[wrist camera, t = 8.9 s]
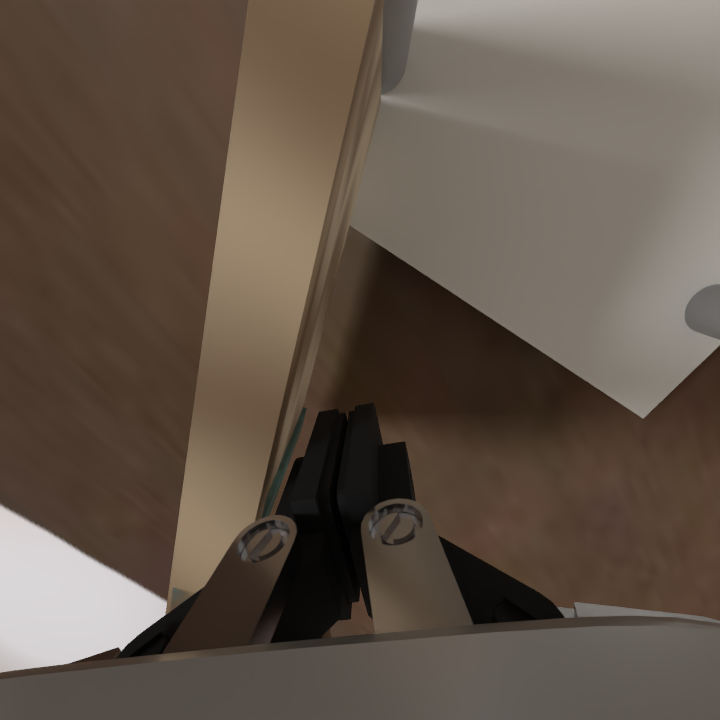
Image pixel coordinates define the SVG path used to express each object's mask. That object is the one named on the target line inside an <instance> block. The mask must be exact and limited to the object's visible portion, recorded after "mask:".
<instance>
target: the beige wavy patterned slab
mask: <svg viewBox="0 0 720 720" xmlns="http://www.w3.org/2000/svg"><path fill="white" fill-rule="evenodd" d="M384 1H385V0H249V1H248V8H247V16H246V23H245V30H244V38H243V45H242V53H241V60H240V68H239V75H238V82H237V90H236V97H235V105H234V112H233V119H232V127H231V134H230V142H229V149H228V156H227V164H226V171H225V179H224V186H223V193H222V201H221V208H220V216H219V223H218V230H217V238H216V245H215V253H214V260H213V268H212V275H211V282H210V290H209V297H208V305H207V312H206V319H205V327H204V334H203V342H202V349H201V356H200V364H199V371H198V379H197V386H196V393H195V401H194V408H193V416H192V423H191V430H190V438H189V445H188V453H187V460H186V467H185V475H184V482H183V490H182V497H181V505H180V512H179V519H178V527H177V534H176V542H175V549H174V556H173V564H172V571H171V579H170V586H169V593H168V601H167V608H166V614H168V613H169V612H170V611H172V610H173V609H174V608H176V607H177V606H179V605H180V604H181V603H183V602H184V601H185V600H187V599H188V598H189V597H191V596H192V595H193V594H195V593H196V592H198V591H199V590H200V589H202V588H203V587H204V586H205V585H206V583H207V582H208V580H209V579H210V577H211V576H212V574H213V572H214V571H215V569H216V568H217V566H218V564H219V563H220V561H221V560H222V558H223V557H224V555H225V553H226V552H227V550H228V549H229V547H230V546H231V544H232V542H233V541H234V539H235V538H236V537H237V536H238V534H239V533H240V532H241V531H242V530H243V529H245V528H246V527H247V526H248V525H250V524H251V523H253V522H255V521H257V520H259V519H262V518H264V517H267V516H269V515H270V512H271V510H272V507H273V504H274V502H275V499H276V496H277V493H278V491H279V488H280V485H281V483H282V480H283V477H284V475H285V472H286V469H287V467H288V464H289V461H290V458H291V456H292V453H293V450H294V448H295V445H296V442H297V440H298V437H299V434H300V431H301V428H302V425H303V421H304V417H305V413H306V409H307V408H304V407H303V406H304V402H305V398H306V394H307V390H308V386H309V382H310V379H311V375H312V371H313V367H314V363H315V359H316V355H317V351H318V347H319V343H320V339H321V335H322V331H323V327H324V324H325V320H326V316H327V312H328V308H329V304H330V300H331V296H332V292H333V288H334V284H335V280H336V276H337V273H338V269H339V265H340V261H341V257H342V253H343V249H344V245H345V241H346V237H347V233H348V229H349V225H350V221H351V218H352V214H353V210H354V206H355V202H356V198H357V194H358V190H359V186H360V182H361V178H362V174H363V170H364V167H365V163H366V159H367V155H368V151H369V147H370V143H371V139H372V135H373V131H374V127H375V123H376V119H377V115H378V112H379V108H380V104H381V74H382V36H383V5H384Z"/></svg>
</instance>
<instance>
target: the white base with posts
mask: <svg viewBox="0 0 720 720" xmlns="http://www.w3.org/2000/svg"><path fill="white" fill-rule="evenodd" d="M350 226H351V227H353V228H355V229H356V230H358V231H359V232H361V233H362V234H364V235H365V236H367V237H368V238H370V239H371V240H373V241H374V242H376V243H377V244H379V245H380V246H382V247H383V248H385V249H386V250H388V251H389V252H391V253H392V254H394V255H395V256H397V257H399V258H400V259H402V260H403V261H405V262H406V263H408V264H409V265H411V266H412V267H414V268H415V269H417V270H418V271H420V272H421V273H423V274H424V275H426V276H427V277H429V278H430V279H432V280H433V281H435V282H436V283H438V284H440V285H441V286H443V287H444V288H446V289H447V290H449V291H450V292H452V293H453V294H455V295H456V296H458V297H459V298H461V299H462V300H464V301H465V302H467V303H468V304H470V305H471V306H473V307H474V308H476V309H477V310H479V311H480V312H482V313H484V314H485V315H487V316H488V317H490V318H491V319H493V320H494V321H496V322H497V323H499V324H500V325H502V326H503V327H505V328H506V329H508V330H509V331H511V332H512V333H514V334H515V335H517V336H518V337H520V338H521V339H523V340H525V341H526V342H528V343H529V344H531V345H532V346H534V347H535V348H537V349H538V350H540V351H541V352H543V353H544V354H546V355H547V356H549V357H550V358H552V359H553V360H555V361H556V362H558V363H559V364H561V365H562V366H564V367H566V368H567V369H569V370H570V371H572V372H573V373H575V374H576V375H578V376H579V377H581V378H582V379H584V380H585V381H587V382H588V383H590V384H591V385H593V386H594V387H596V388H597V389H599V390H600V391H602V392H603V393H605V394H606V395H608V396H610V397H611V398H613V399H614V400H616V401H617V402H619V403H620V404H622V405H623V406H625V407H626V408H628V409H629V410H631V411H632V412H634V413H635V414H637V415H638V416H640V417H641V418H644V417H645V416H646V415H648V414H649V413H650V412H651V411H652V410H653V409H654V408H655V407H656V406H657V405H658V404H659V403H660V402H661V401H662V400H663V399H664V398H665V397H666V396H667V395H668V394H669V393H670V392H672V391H673V390H674V389H675V388H676V387H677V386H678V385H679V384H680V383H681V382H682V381H683V380H684V379H685V378H686V377H687V376H688V375H689V374H690V373H691V372H692V371H693V370H694V369H695V368H697V367H698V366H699V365H700V364H701V363H702V362H703V361H704V360H705V359H706V358H707V357H708V356H709V355H710V354H711V353H712V352H713V351H714V350H715V349H716V348H717V347H718V346H719V345H720V0H385V1H384V5H383V36H382V74H381V104H380V108H379V112H378V115H377V119H376V123H375V127H374V131H373V135H372V139H371V143H370V147H369V151H368V155H367V159H366V163H365V167H364V170H363V174H362V178H361V182H360V186H359V190H358V194H357V198H356V202H355V206H354V210H353V214H352V218H351V221H350Z"/></svg>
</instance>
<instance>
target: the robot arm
mask: <svg viewBox="0 0 720 720" xmlns="http://www.w3.org/2000/svg"><path fill="white" fill-rule="evenodd" d="M360 588H361V591H362V595H363V598H364V602H365V605H366V609H367V613H368V615H369V616H370V617H371V618H372V619H373V623H374V630H375V634H365V635H354V636H343V637H332V638H331V633H330V628H331V627H332V626H333V625H334V624H335V623H336V622H337V621H338V620H347V619H351V608H352V602H358V601H359V597H360ZM0 720H720V621H719V620H715V619H711V618H707V617H702V616H693V615H685V614H676V613H667V612H658V611H649V610H640V609H631V608H622V607H614V606H605V605H596V604H587V603H578V602H574V609H569V608H560V607H556V606H555V605H554V603H553V602H551V601H550V600H549V599H547V598H546V597H545V596H543V595H542V594H540V593H539V592H537V591H535V590H534V589H532V588H530V587H528V586H526V585H525V584H523V583H521V582H519V581H518V580H516V579H514V578H512V577H511V576H509V575H507V574H505V573H504V572H502V571H500V570H498V569H496V568H495V567H493V566H491V565H489V564H488V563H486V562H484V561H482V560H481V559H479V558H477V557H475V556H474V555H472V554H470V553H468V552H466V551H465V550H463V549H461V548H459V547H458V546H456V545H454V544H452V543H451V542H449V541H447V540H445V539H444V538H442V537H440V536H438V535H437V532H436V530H435V527H434V525H433V522H432V520H431V517H430V515H429V513H428V512H427V510H426V508H425V507H423V506H422V505H421V504H419V503H418V502H416V500H415V493H414V486H413V480H412V474H411V469H410V463H409V458H408V453H407V448H406V443H405V442H398V443H392V444H385V445H383V442H382V438H381V433H380V428H379V424H378V419H377V414H376V410H375V406H374V403H370V404H364V405H358V406H355V411H351V412H349V416H348V421H347V417H346V414H345V413H339V411H338V409H334V410H328V411H322V412H319V413H318V416H317V419H316V423H315V426H314V429H313V432H312V435H311V438H310V441H309V444H308V447H307V450H306V453H305V456H304V457H300V458H297V459H296V460H295V462H294V464H293V467H292V470H291V472H290V475H289V478H288V481H287V483H286V486H285V489H284V492H283V494H282V497H281V500H280V503H279V505H278V508H277V511H276V514H275V515H273V516H267V517H264V518H262V519H259V520H257V521H255V522H253V523H251V524H250V525H248V526H247V527H246V528H245V529H243V530H242V531H241V532H240V533H239V534H238V536H237V537H236V538H235V539H234V541H233V542H232V544H231V546H230V547H229V549H228V550H227V552H226V553H225V555H224V557H223V558H222V560H221V561H220V563H219V564H218V566H217V568H216V569H215V571H214V572H213V574H212V576H211V577H210V579H209V580H208V582H207V583H206V585H205V586H204V587H203V588H202V589H200V590H199V591H198V592H196V593H195V594H193V595H192V596H191V597H189V598H188V599H187V600H185V601H184V602H183V603H181V604H180V605H179V606H177V607H176V608H174V609H173V610H172V611H170V612H169V613H168V614H166V615H165V616H164V617H162V618H161V619H160V620H158V621H157V622H156V623H154V624H153V625H152V626H150V627H149V628H147V629H146V630H145V631H143V632H142V633H141V634H139V635H138V636H137V637H136V638H135V639H134V640H133V641H131V642H130V643H129V644H128V645H127V646H126V647H125V648H124V649H123V650H122V652H121V651H120V649H119V648H115V649H112V650H109V651H106V652H103V653H100V654H97V655H94V656H91V657H88V658H85V659H82V660H79V661H76V662H73V663H70V664H64V665H56V666H49V667H40V668H32V669H24V670H15V671H9V672H2V673H0Z"/></svg>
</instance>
